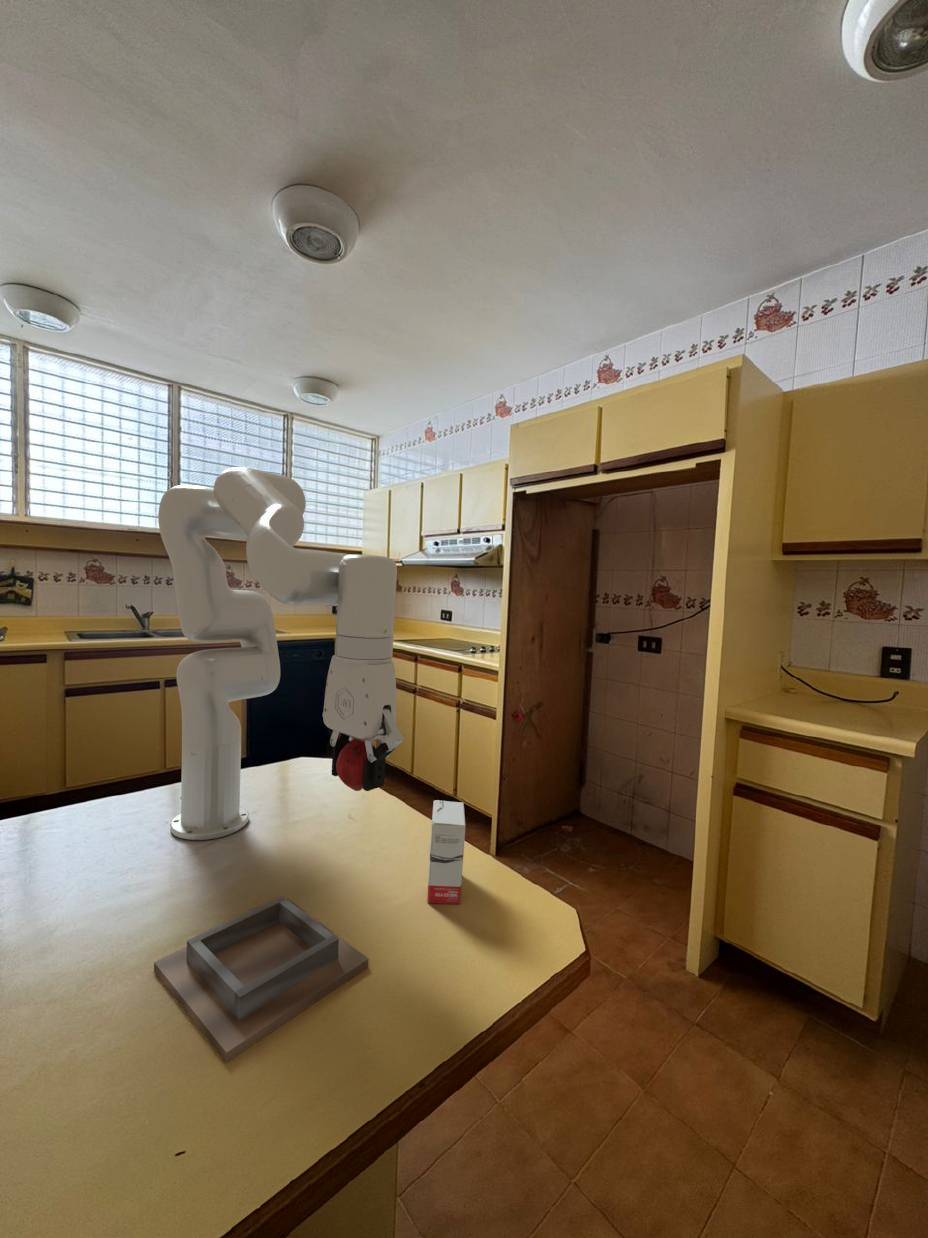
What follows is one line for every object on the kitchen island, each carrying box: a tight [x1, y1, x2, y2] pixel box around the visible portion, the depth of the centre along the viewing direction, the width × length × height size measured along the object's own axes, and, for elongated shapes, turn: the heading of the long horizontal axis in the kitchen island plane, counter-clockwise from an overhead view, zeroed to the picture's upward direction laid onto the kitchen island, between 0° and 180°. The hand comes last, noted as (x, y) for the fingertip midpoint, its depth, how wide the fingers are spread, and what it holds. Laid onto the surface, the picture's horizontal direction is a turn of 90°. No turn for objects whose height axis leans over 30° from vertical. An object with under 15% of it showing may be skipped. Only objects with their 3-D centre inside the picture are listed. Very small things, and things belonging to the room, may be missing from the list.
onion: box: [336, 738, 377, 792], centre depth 71 cm, size 6×6×8 cm
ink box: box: [426, 799, 466, 905], centre depth 79 cm, size 8×5×12 cm, turn 2°
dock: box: [153, 895, 369, 1063], centre depth 61 cm, size 17×17×4 cm
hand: (357, 779), depth 72 cm, fingers closed on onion, 5 cm apart
